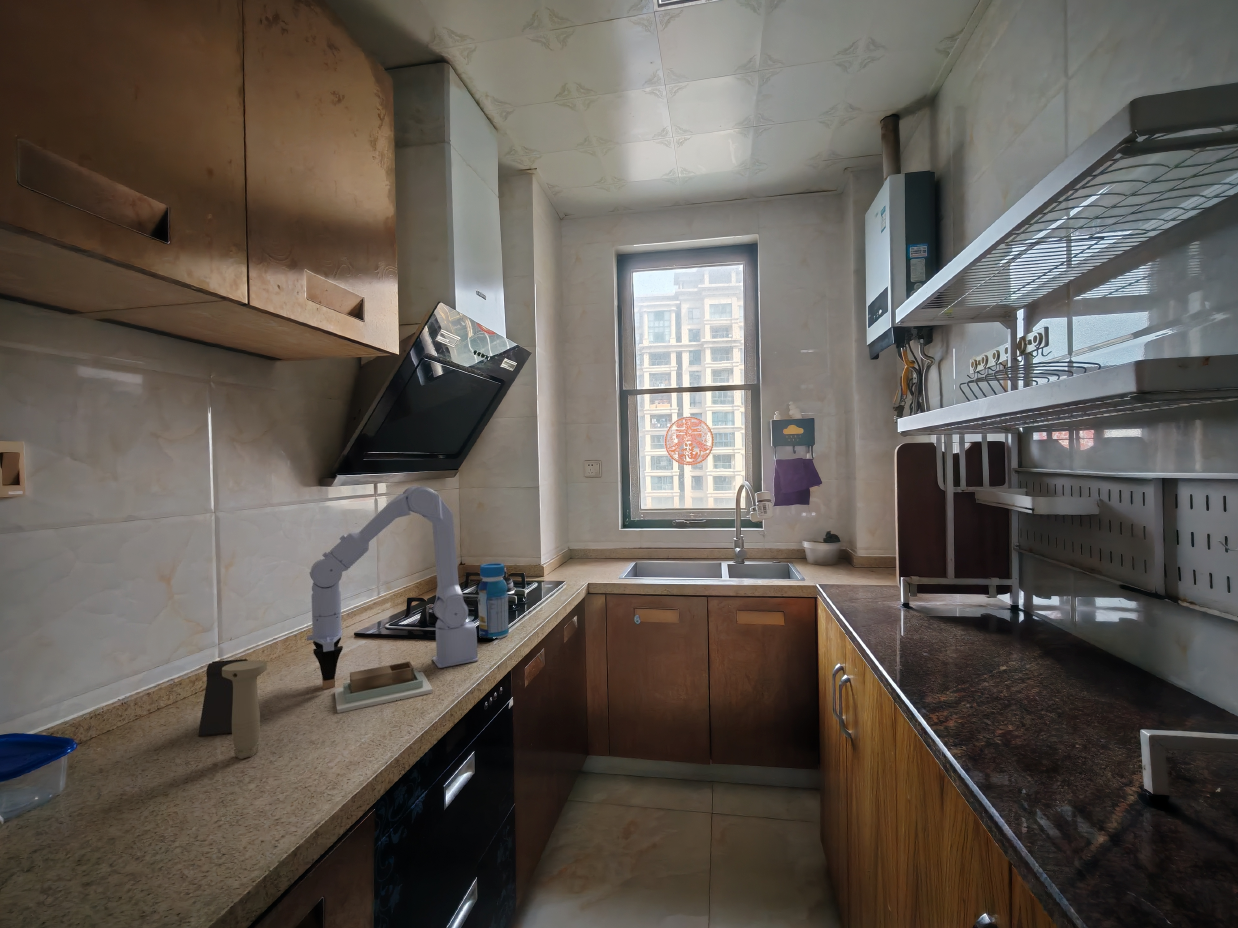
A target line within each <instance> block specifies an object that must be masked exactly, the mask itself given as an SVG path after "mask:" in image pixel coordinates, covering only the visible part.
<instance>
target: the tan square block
mask: <svg viewBox="0 0 1238 928" xmlns="http://www.w3.org/2000/svg"><path fill="white" fill-rule="evenodd" d="M321 679H322V680H321V681H322V690H327V689H331V688H336V678H334V679H333V680H327V681H324V680H323V678H322V677H321Z"/></svg>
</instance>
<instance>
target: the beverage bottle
mask: <svg viewBox="0 0 1238 928" xmlns="http://www.w3.org/2000/svg"><path fill="white" fill-rule="evenodd" d="M479 576H480V578H481V581H480V582H479V585H478V588H477V593H478V597H477V603H478V604H477V605H478V607H477V608H478V626H479V627H478V629H479V631H478V634H479V635H480V636H487V637H497V638H498V639H502V638H505V637H507V636H508V635H509V633H510V631H509V629H510V628H509V595H508V593H507V591H508V584H507V583H506V581H505V579H504V578H503V577H504V576H505V565H504V564H503V563H499V562H495V563H494V562H493V563H492V562H491V563H485V564H481V565H480V566H479ZM480 636H479V637H480ZM498 639H497V640H498Z"/></svg>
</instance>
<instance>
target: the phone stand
mask: <svg viewBox="0 0 1238 928" xmlns="http://www.w3.org/2000/svg"><path fill="white" fill-rule="evenodd" d="M241 661H249V659H248V658H242V659H240V658H239V659H229V660H218V661H217V660H215V661H211V662H210V663H208V664H207V666H206V683H205V688H204V689H205V690H204V691H205V692H204V696H203V704H202V708H201V709H202V710H201V713H200V714H201V715H200V721H199V727H198V733H197V736H198V737H199V738H200V737H210V736H221V735H230V734H231V735H232V706H233V681H232V680H230V679H228V678H225V677H223V676H222V668H223V667H224V666H226V665H229V664H232V663H235V662H241Z"/></svg>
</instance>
